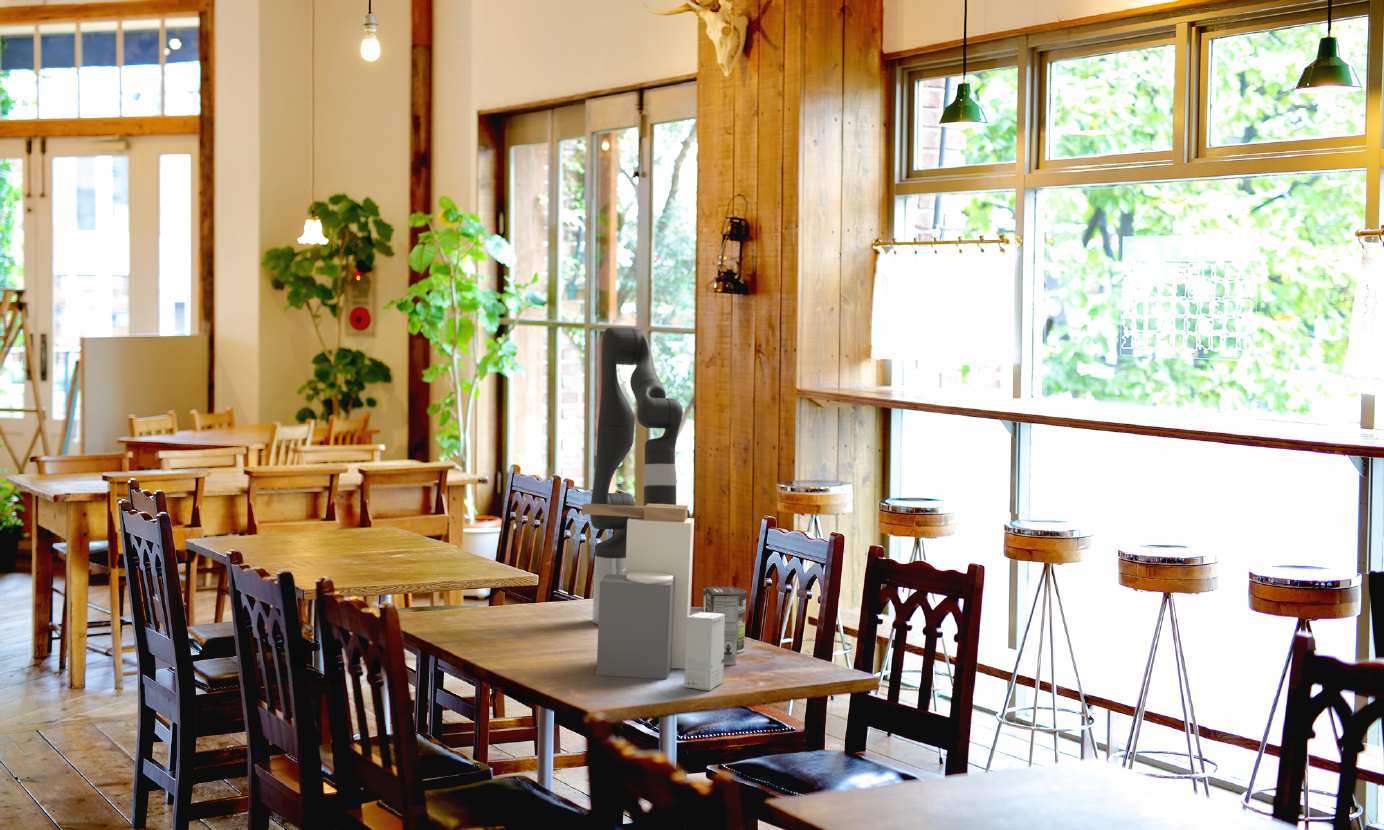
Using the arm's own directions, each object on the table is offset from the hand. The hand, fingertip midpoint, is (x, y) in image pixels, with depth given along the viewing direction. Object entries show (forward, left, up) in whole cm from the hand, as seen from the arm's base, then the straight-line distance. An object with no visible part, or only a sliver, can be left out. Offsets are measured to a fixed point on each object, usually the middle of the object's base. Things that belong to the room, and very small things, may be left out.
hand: (660, 554), depth 299 cm
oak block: (+9, -5, +9) cm, 14 cm away
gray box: (+19, -3, -23) cm, 30 cm away
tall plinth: (+9, +1, -23) cm, 24 cm away
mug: (-20, +9, -23) cm, 32 cm away
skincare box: (+28, +13, -23) cm, 38 cm away
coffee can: (-8, +15, -23) cm, 28 cm away
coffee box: (+4, +15, -23) cm, 28 cm away
